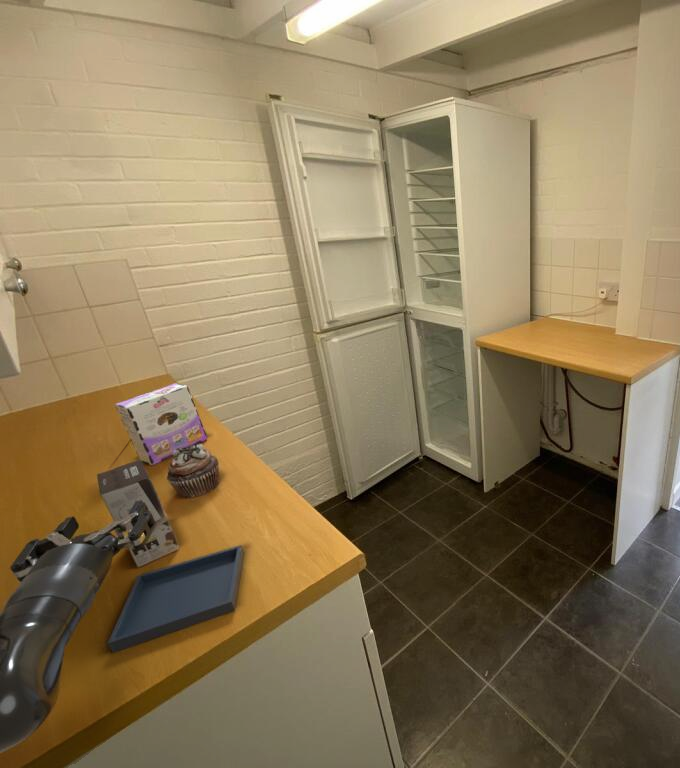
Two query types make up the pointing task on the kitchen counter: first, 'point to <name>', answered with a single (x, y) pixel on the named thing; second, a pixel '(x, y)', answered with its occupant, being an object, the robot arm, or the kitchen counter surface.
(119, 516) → the coffee box
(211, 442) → the kitchen counter surface
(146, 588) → the tray
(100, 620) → the kitchen counter surface
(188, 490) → the cupcake
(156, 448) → the candy box
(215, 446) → the kitchen counter surface
